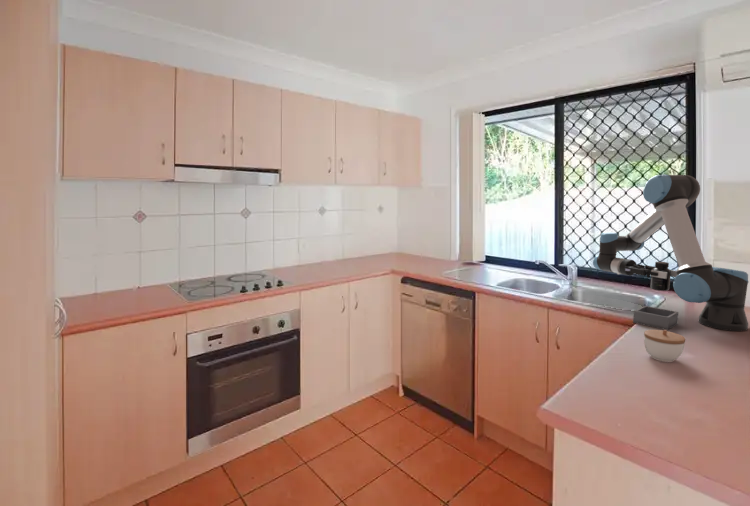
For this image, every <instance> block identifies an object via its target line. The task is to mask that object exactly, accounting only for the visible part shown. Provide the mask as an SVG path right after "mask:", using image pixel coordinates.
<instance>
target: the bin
mask: <svg viewBox="0 0 750 506" xmlns="http://www.w3.org/2000/svg"><path fill="white" fill-rule="evenodd" d="M678 319H679V311H676V310H675V311H674V310H669V309H665V308H658V307H655V306H647V305H644V306H641V307H639V308H637V309H635V310H634V311H633V320H632V323H633V324H638V325H641V326H648V327H652V328H657V329H661V330H667V331H669V330H670V329H671V328H673V327H675V326H676V325H678V321H679V320H678Z"/></svg>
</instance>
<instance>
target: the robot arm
mask: <svg viewBox="0 0 750 506" xmlns="http://www.w3.org/2000/svg"><path fill="white" fill-rule="evenodd" d="M642 190H643V192H642V194H643V196H642V197H643V199H644V200H645V201H646V202H648V203H649V204H652V205H653V208H654V209H653V210H652V211H651V212H650V213H649V214H647V216H646V217H644V218H643V220H641V221H640V222H639V223H638V224H637V225H636V226H635V227H634V228H633V229H632V230H630V231H629V232H628V233H627V234H626V235H618V232H613V231H611V232H609V231H607V232H606V231H603V232H601V233H600V237H599V251H598V252H599V253H598V255H596V256H595V257H594V259H593V260H592V266H593V267H594V268H595V269H596V270H599V271H601V272H610V273H614V274H617V275H618V276H619V275H624V276H630V277H631V276H633V275H637V276H642V277H643V276H644V277H646V278H651V276H653V277H658V278H664V279H667V272H662V271H656V270H652V269H653V268H655V267H656V266H653V265H648V264H646V265H645V264H644V265H643V264H637V262H636V261H635V260H633V259H627V258H621V257H617V254H618V253H617V252H626V251H627V252H634V251H639V250H642V249H643V247H644V245H645V241H646V240H648V238H650V237H651V236H652V235H654V233H655V232H657V231H658V230H659V229H660V228H661V227H662V226H664V227H665V230H666V233H667V236H668V238H669V242H670V245H671V248H672V251H673V253H674V257H675V259H676V262H677V266H678V268H677V269H676V270H675V269H673V270H672V269H670V271H671V276H670V278H671V277H673V278H674V279H673V283H672V286H673V290H674V293H675V294H676V295H677V297H679V298H680V299H681V300H683V301H685V302H687V303H698V304H701V303H705V305H704V307H703V309H702V311H701V312H700V314H699V317H698V323H699V324H701V325H704V326H706V327H708V328H714V329H718V330H724V331H732V332H742V331H741V330H745V331H747V330H748V329H749V322H748V318H747V314H746V311H745V307H746V306H745V305H746V299H747V291H748V286H749V285H748V284H749V274H748V273H747V271H746V272H745V271H743V270H739V269H730V268H724V267H719V266H718V267H717V266H713V265H712V264H711V263H709V262H707V261H706V260H705V257H704V254H703V251H702V249H701V245H700V244H699V240H698V238H697V235H696V232H695V229H694V226H693V224H692V221H691V218H690V216H689V213H688V210H687V208H688V207H690V206H691V205H693V203H694V202H695V201H696V200H697V199H698V197H699V195H700V192H701V185H700V182H699V181H698V179H696V178H695V177H694V176H691V175H688V174H656V175H654V176H652V177H650V178H649V179H648V180H647V181H646V182H645V186H644V187H643V189H642ZM746 329H747V330H746Z"/></svg>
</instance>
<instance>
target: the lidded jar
mask: <svg viewBox="0 0 750 506" xmlns="http://www.w3.org/2000/svg"><path fill="white" fill-rule="evenodd" d="M643 335H644V336H643V337H644V339H643V342H644V343H643V344H644V348H645V351H646V353H648V355H649V356H650V357H651V358H652V359H654V360H655V361H656V360H657V361H659V362H665V363H672V362H674V361H675V360H677V359H678V358H680V356H682V354H683V351H684V348H685V343H686V338H685V336H683V335H682V334H679V333H677V332H672V331H669V330H665V329H661V330H660V329H647V330H645V331H644V334H643Z"/></svg>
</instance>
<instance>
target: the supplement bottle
mask: <svg viewBox="0 0 750 506" xmlns="http://www.w3.org/2000/svg"><path fill="white" fill-rule="evenodd" d="M669 263H670V262H667V261H655V264H654V267H655V268H653V269H652V270H656V271H662V272H667V279H664V278H658V277H653V276H651V275H650V278H651V279H650V289H652V290H654V291H661V292H662V291H663V292H666V291H669V290H670V285H671V271H670V270H671V269H670V268H669V266H670V265H669Z"/></svg>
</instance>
